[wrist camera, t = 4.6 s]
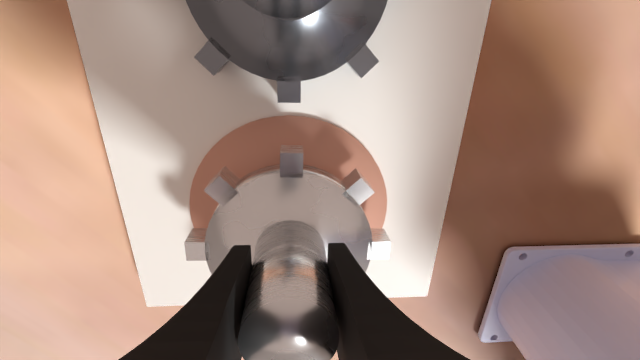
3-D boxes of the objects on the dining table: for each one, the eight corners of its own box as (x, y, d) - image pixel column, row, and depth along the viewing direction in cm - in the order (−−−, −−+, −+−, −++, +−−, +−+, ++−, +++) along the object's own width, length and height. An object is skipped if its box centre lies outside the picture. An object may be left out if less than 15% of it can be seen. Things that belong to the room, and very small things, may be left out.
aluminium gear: (394, 147, 14) (460, 208, 9) (373, 310, 17) (412, 431, 12) (183, 142, 13) (106, 205, 8) (201, 313, 17) (154, 445, 11)
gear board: (506, -170, 12) (537, -199, 11) (418, 278, 21) (428, 298, 19) (39, -208, 11) (-2, -246, 9) (156, 287, 20) (145, 309, 18)
